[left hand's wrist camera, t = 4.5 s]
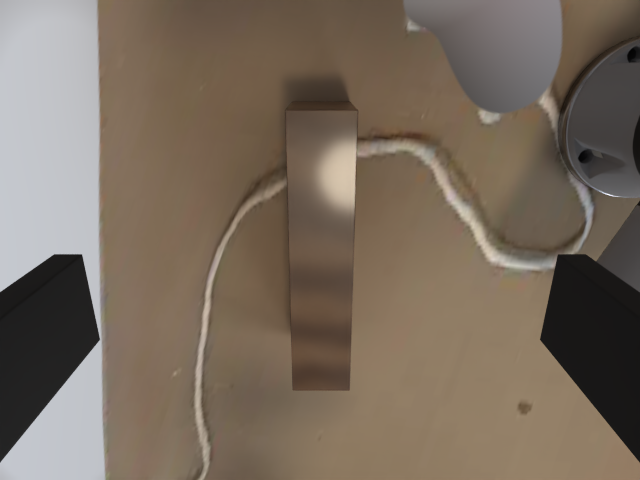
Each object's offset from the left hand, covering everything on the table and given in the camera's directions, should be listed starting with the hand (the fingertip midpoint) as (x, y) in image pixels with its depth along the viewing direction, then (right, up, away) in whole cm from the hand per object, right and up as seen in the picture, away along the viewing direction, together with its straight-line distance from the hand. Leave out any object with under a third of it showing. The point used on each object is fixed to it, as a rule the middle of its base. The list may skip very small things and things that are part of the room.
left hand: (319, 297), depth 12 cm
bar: (0, +3, +36) cm, 36 cm away
